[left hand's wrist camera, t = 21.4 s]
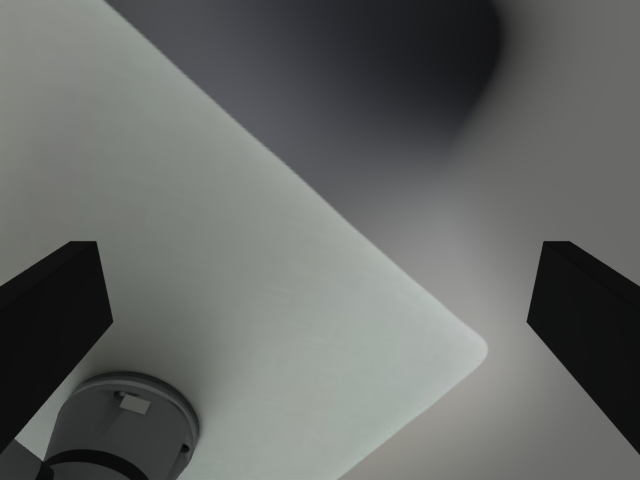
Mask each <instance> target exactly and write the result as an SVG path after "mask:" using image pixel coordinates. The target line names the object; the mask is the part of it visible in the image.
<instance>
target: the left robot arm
mask: <svg viewBox="0 0 640 480" xmlns="http://www.w3.org/2000/svg"><path fill="white" fill-rule="evenodd" d="M112 323H113V318H112V313H111V308H110V304H109V299H108V294H107V289H106V285H105V280H104V275H103V270H102V266H101V261H100V256H99V251H98V246H97V242H96V241H70V242H68V243H67V244H65V245H64V246H62V247H61V248H59V249H57V250H56V251H54V252H53V253H51V254H50V255H48V256H47V257H45V258H44V259H42V260H40V261H39V262H37V263H36V264H34V265H33V266H31V267H30V268H28V269H27V270H25V271H24V272H22V273H20V274H19V275H17V276H16V277H14V278H13V279H11V280H10V281H8V282H7V283H5V284H3V285H2V286H0V480H176V479H177V478H178V476H179V475H180V474H181V473H182V471H183V470H184V469H185V468H186V467H187V465H188V464H189V462H190V460H191V458H192V455H193V452H194V449H195V447H196V444H197V440H198V434H199V427H198V421H197V418H196V415H195V413H194V411H193V409H192V408H191V406H190V405H189V403H188V402H187V401H186V400H185V398H184V397H183V396H182V395H180V394H179V393H178V392H177V391H176V390H175V389H173V388H172V387H170V386H169V385H167V384H165V383H163V382H161V381H159V380H157V379H154V378H152V377H149V376H145V375H141V374H137V373H130V372H114V373H107V374H102V375H98V376H95V377H93V378H91V379H89V380H87V381H85V382H84V383H82V384H81V385H80V386H78V387H77V388H76V389H75V390H74V392H73V393H72V394H71V395H70V397H69V398H68V399H67V400H66V402H65V403H64V404H63V406H62V407H61V409H60V411H59V413H58V416H57V420H56V423H55V426H54V429H53V433H52V436H51V439H50V442H49V445H48V448H47V452H46V455H45V458H44V461H41V459H39V458H38V457H37V456H36V455H34V454H33V453H32V452H30V451H29V450H28V449H27V448H25V447H24V446H23V445H21V444H20V443H19V442H18V441H16V440H15V439H14V438H15V437H16V436H17V435H18V433H19V432H20V431H21V430H22V429H23V428H24V426H25V425H26V424H27V423H28V422H29V420H30V419H31V418H32V417H33V416H34V415H35V413H36V412H37V411H38V410H39V409H40V408H41V406H42V405H43V404H44V403H45V402H46V401H47V399H48V398H49V397H50V396H51V395H52V393H53V392H54V391H55V390H56V389H57V388H58V386H59V385H60V384H61V383H62V382H63V381H64V379H65V378H66V377H67V376H68V375H69V374H70V372H71V371H72V370H73V369H74V368H75V367H76V365H77V364H78V363H79V362H80V361H81V359H82V358H83V357H84V356H85V355H86V354H87V352H88V351H89V350H90V349H91V348H92V347H93V345H94V344H95V343H96V342H97V341H98V340H99V338H100V337H101V336H102V335H103V334H104V332H105V331H106V330H107V329H108V328H109V327H110V325H111V324H112ZM527 323H528V324H529V325H530V327H531V328H532V329H533V330H534V331H535V332H536V334H537V335H538V336H539V337H540V338H541V340H542V341H543V342H544V343H545V344H546V345H547V347H548V348H549V349H550V350H551V351H552V352H553V354H554V355H555V356H556V357H557V358H558V359H559V361H560V362H561V363H562V364H563V365H564V366H565V368H566V369H567V370H568V371H569V372H570V373H571V375H572V376H573V377H574V378H575V379H576V381H577V382H578V383H579V384H580V385H581V386H582V388H583V389H584V390H585V391H586V392H587V393H588V395H589V396H590V397H591V398H592V399H593V401H594V402H595V403H596V404H597V405H598V406H599V408H600V409H601V410H602V411H603V412H604V413H605V415H606V416H607V417H608V418H609V419H610V420H611V422H612V423H613V424H614V425H615V426H616V428H617V429H618V430H619V431H620V432H621V433H622V435H623V436H624V437H625V438H626V439H627V440H628V442H629V443H630V444H631V445H632V446H633V447H634V449H635V450H636V451H637V452H638V453H639V455H640V286H638V285H637V284H635V283H633V282H632V281H630V280H629V279H627V278H626V277H624V276H623V275H621V274H620V273H618V272H616V271H615V270H613V269H612V268H610V267H609V266H607V265H606V264H604V263H603V262H601V261H600V260H598V259H596V258H595V257H593V256H592V255H590V254H589V253H587V252H586V251H584V250H582V249H581V248H579V247H578V246H576V245H575V244H573V243H572V242H570V241H544V242H543V246H542V251H541V256H540V261H539V266H538V270H537V275H536V280H535V285H534V289H533V294H532V299H531V304H530V309H529V313H528V318H527Z"/></svg>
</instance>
